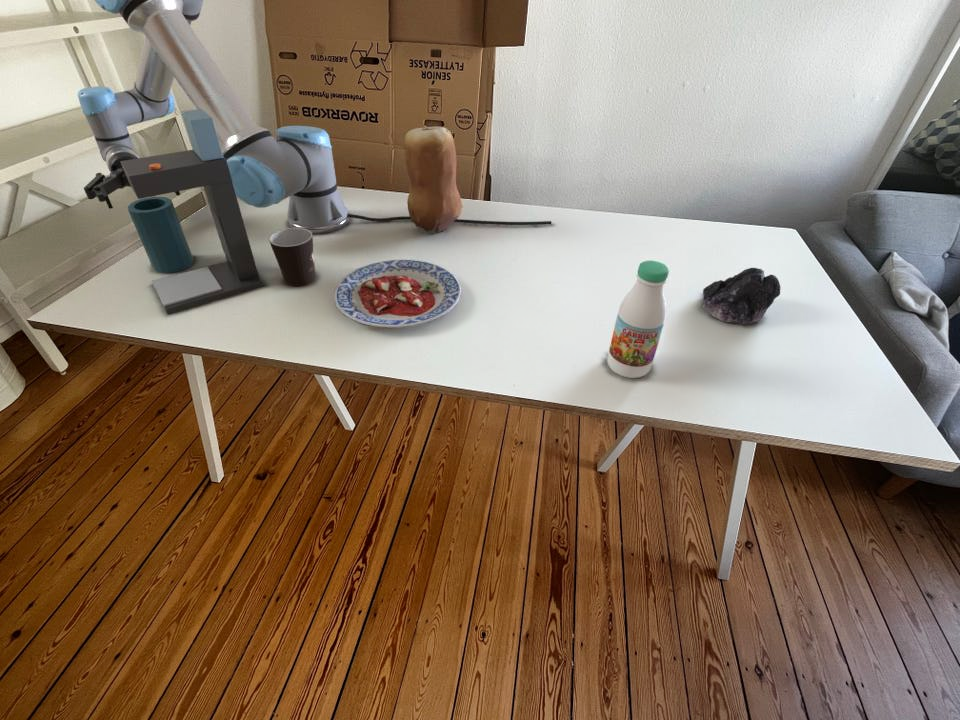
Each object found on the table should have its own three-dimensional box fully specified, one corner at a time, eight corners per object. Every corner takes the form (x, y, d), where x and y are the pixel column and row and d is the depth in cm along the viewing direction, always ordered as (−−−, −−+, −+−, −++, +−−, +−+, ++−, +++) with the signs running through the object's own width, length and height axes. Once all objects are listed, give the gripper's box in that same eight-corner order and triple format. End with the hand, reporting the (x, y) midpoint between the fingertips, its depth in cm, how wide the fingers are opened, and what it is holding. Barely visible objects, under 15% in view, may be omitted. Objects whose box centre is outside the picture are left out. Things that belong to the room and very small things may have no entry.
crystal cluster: (686, 311, 108) (702, 272, 101) (713, 282, 115) (729, 244, 108) (749, 341, 102) (771, 302, 95) (773, 308, 110) (795, 270, 102)
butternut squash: (422, 215, 140) (417, 116, 124) (469, 223, 137) (470, 123, 121) (399, 236, 130) (391, 132, 114) (449, 246, 127) (447, 139, 111)
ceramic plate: (331, 340, 97) (329, 327, 95) (338, 271, 116) (336, 259, 114) (468, 330, 100) (469, 317, 98) (453, 264, 120) (453, 253, 118)
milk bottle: (601, 352, 96) (622, 255, 83) (642, 351, 96) (669, 254, 84) (613, 380, 90) (638, 279, 77) (656, 378, 90) (688, 278, 78)
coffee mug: (309, 291, 109) (300, 248, 103) (272, 286, 111) (260, 243, 104) (332, 265, 118) (325, 224, 112) (297, 260, 119) (288, 220, 113)
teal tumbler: (198, 254, 121) (177, 196, 112) (186, 272, 114) (163, 212, 105) (161, 255, 120) (136, 197, 111) (147, 273, 113) (120, 213, 105)
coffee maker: (153, 285, 110) (81, 119, 89) (244, 261, 119) (198, 105, 98) (167, 314, 102) (91, 139, 81) (264, 285, 111) (218, 121, 90)
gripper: (185, 172, 136) (207, 200, 123) (74, 192, 124) (85, 224, 112) (176, 143, 131) (197, 168, 119) (59, 160, 120) (69, 190, 107)
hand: (143, 195), depth 115 cm, fingers open, 13 cm apart
